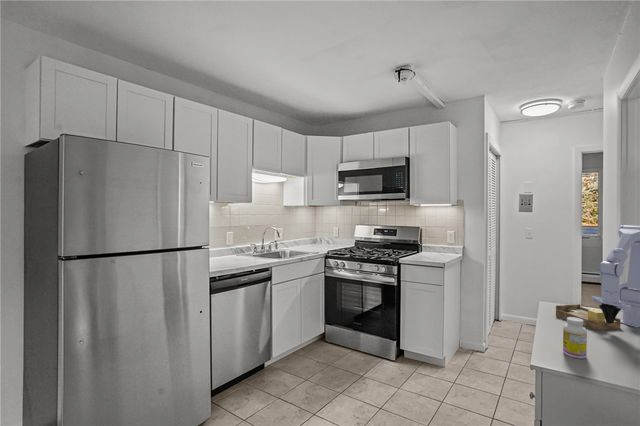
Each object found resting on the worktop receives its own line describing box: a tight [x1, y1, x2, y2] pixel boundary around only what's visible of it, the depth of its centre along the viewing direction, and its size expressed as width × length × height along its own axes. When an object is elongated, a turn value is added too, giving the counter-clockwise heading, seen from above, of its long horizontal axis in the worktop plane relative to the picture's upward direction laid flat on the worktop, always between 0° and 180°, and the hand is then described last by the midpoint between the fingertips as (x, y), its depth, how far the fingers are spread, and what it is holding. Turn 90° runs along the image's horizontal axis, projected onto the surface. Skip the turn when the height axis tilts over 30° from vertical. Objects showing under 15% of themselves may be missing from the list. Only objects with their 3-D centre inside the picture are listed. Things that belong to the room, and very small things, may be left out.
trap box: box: [555, 303, 621, 331], centre depth 151 cm, size 13×19×5 cm
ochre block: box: [588, 309, 605, 322], centre depth 144 cm, size 4×4×4 cm
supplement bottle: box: [562, 317, 588, 360], centre depth 117 cm, size 7×7×13 cm
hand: (609, 322), depth 138 cm, fingers closed
